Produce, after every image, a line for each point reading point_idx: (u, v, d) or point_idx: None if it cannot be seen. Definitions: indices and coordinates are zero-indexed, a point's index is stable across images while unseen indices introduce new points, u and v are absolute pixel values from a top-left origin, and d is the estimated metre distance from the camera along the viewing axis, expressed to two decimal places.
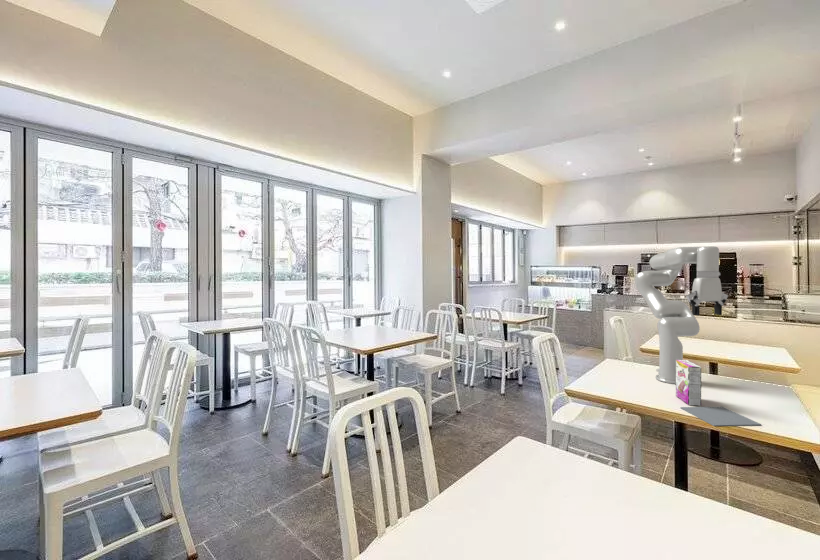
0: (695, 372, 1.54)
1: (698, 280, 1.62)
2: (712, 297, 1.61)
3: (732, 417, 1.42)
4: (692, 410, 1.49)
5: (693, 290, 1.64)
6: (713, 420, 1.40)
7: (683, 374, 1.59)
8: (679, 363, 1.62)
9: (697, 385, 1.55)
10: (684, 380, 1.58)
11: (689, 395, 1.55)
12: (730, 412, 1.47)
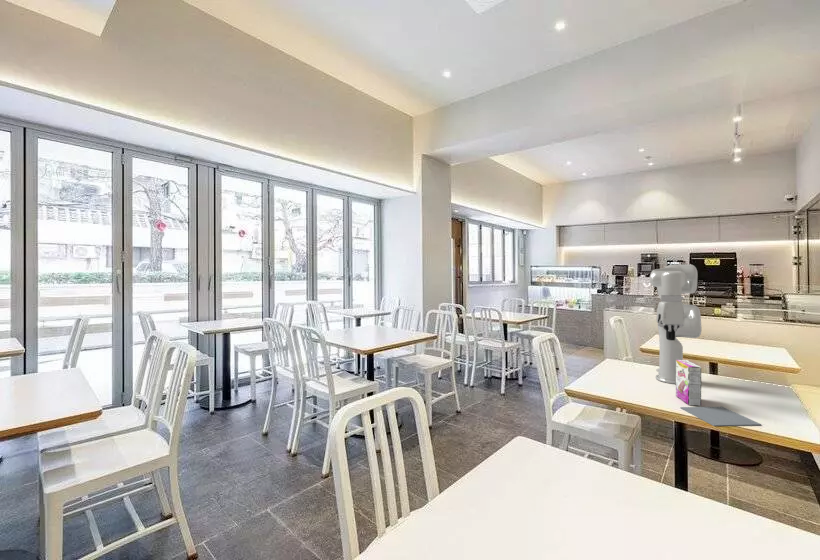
0: (695, 372, 1.54)
1: (662, 303, 1.69)
2: (675, 320, 1.68)
3: (732, 417, 1.42)
4: (692, 410, 1.49)
5: (657, 313, 1.71)
6: (713, 420, 1.40)
7: (683, 374, 1.59)
8: (679, 363, 1.62)
9: (697, 385, 1.55)
10: (684, 380, 1.58)
11: (689, 395, 1.55)
12: (730, 412, 1.47)
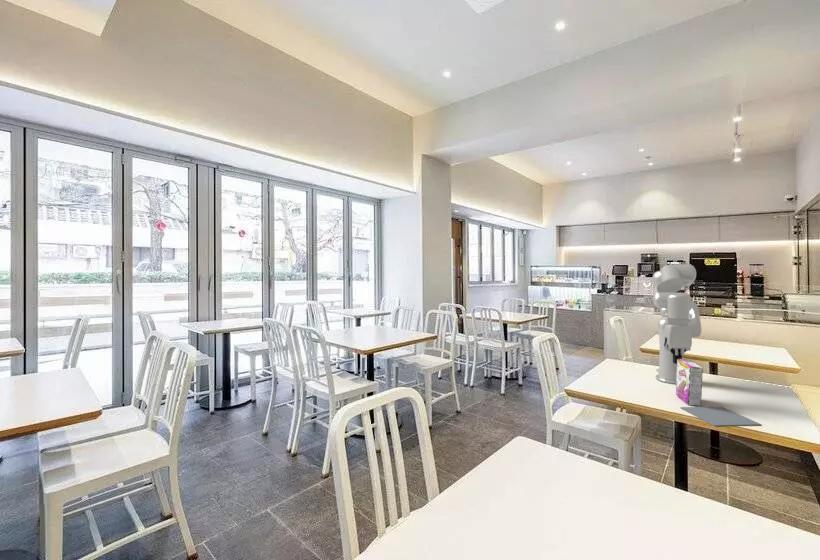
0: (696, 373, 1.54)
1: (668, 327, 1.65)
2: (682, 344, 1.64)
3: (732, 417, 1.42)
4: (692, 410, 1.49)
5: (664, 336, 1.67)
6: (713, 420, 1.40)
7: (684, 374, 1.58)
8: (680, 363, 1.61)
9: (698, 385, 1.54)
10: (685, 380, 1.57)
11: (690, 395, 1.55)
12: (730, 412, 1.47)
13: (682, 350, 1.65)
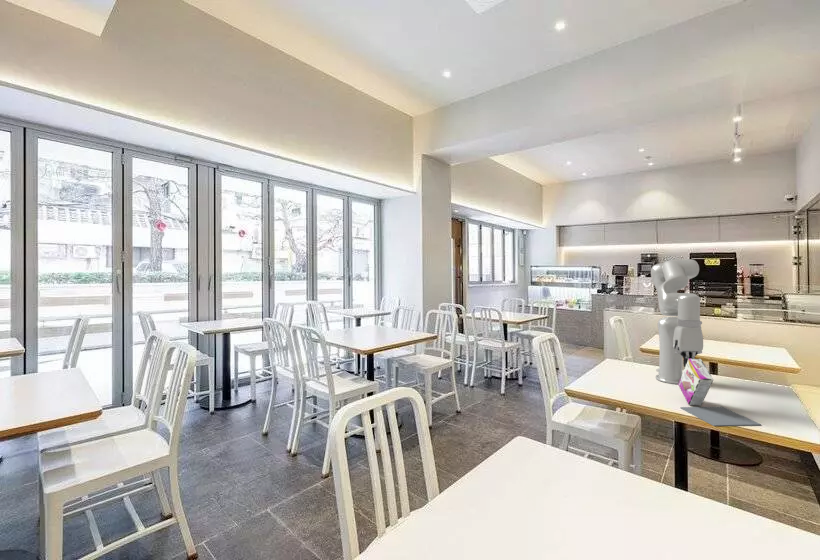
0: (705, 383, 1.47)
1: (679, 329, 1.59)
2: (693, 347, 1.57)
3: (732, 417, 1.42)
4: (692, 410, 1.49)
5: (674, 339, 1.61)
6: (713, 420, 1.40)
7: (692, 378, 1.52)
8: (691, 365, 1.53)
9: (703, 392, 1.50)
10: (691, 385, 1.53)
11: (692, 398, 1.53)
12: (730, 412, 1.47)
13: (693, 353, 1.58)
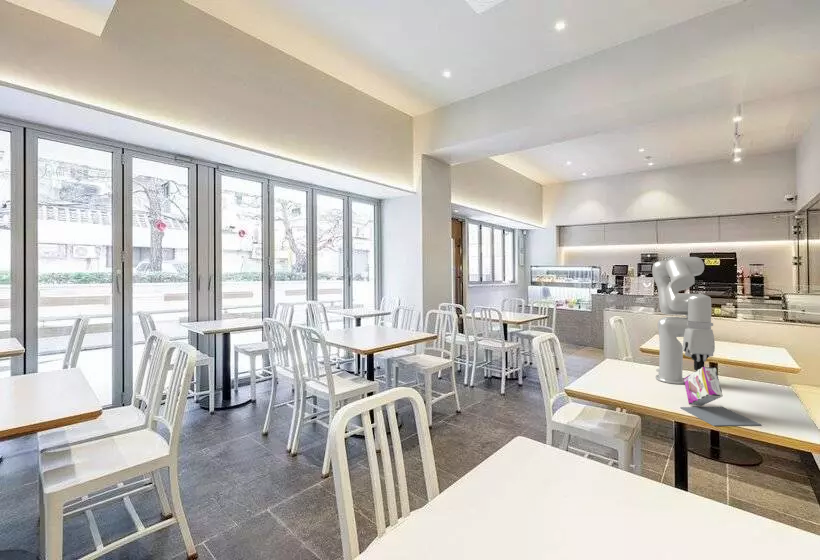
0: (713, 397, 1.43)
1: (689, 330, 1.53)
2: (704, 349, 1.51)
3: (732, 417, 1.42)
4: (692, 410, 1.49)
5: (684, 341, 1.55)
6: (713, 420, 1.40)
7: (700, 387, 1.48)
8: (703, 375, 1.46)
9: (708, 400, 1.48)
10: (698, 392, 1.49)
11: (694, 402, 1.52)
12: (730, 412, 1.47)
13: (704, 356, 1.52)
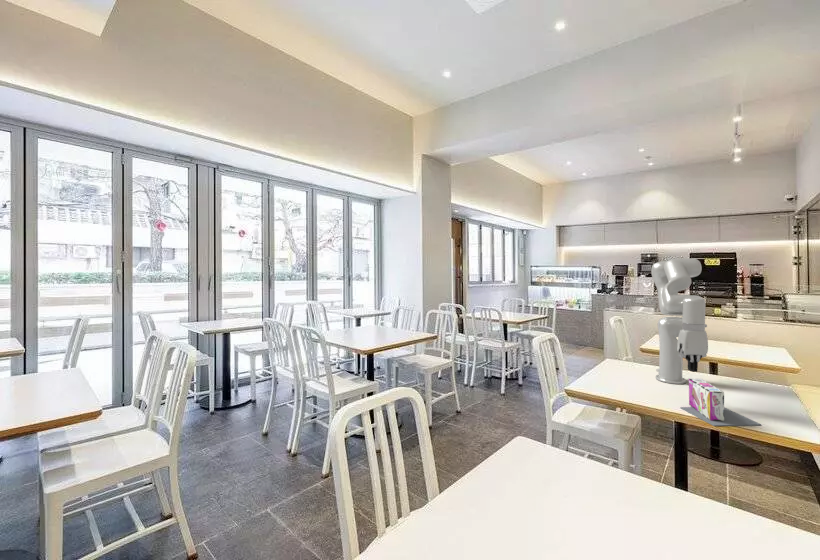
0: None
1: (683, 332, 1.56)
2: (698, 350, 1.55)
3: (732, 417, 1.42)
4: (692, 410, 1.49)
5: (678, 342, 1.58)
6: (713, 420, 1.40)
7: (703, 405, 1.44)
8: (708, 399, 1.40)
9: None
10: (700, 406, 1.46)
11: (695, 408, 1.51)
12: (730, 412, 1.47)
13: (698, 357, 1.56)
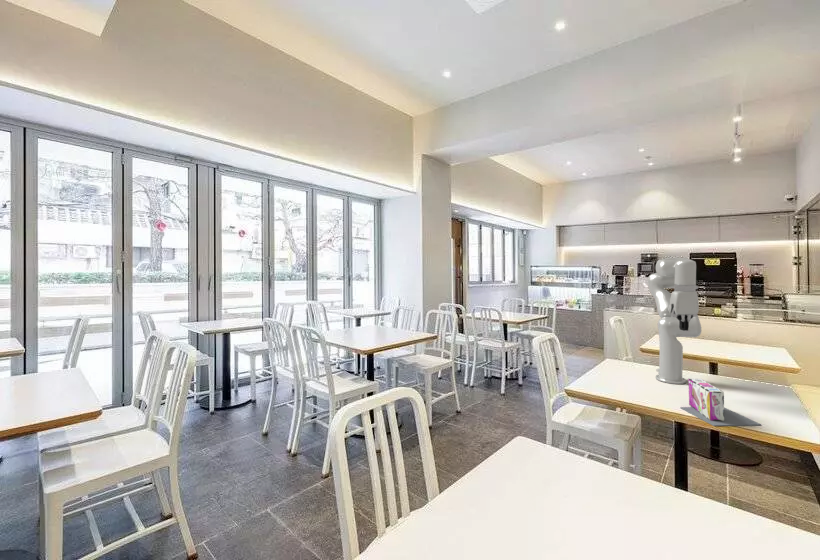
0: None
1: (675, 293, 1.65)
2: (689, 310, 1.64)
3: (732, 417, 1.42)
4: (692, 410, 1.49)
5: (670, 303, 1.67)
6: (713, 420, 1.40)
7: (703, 405, 1.44)
8: (708, 399, 1.40)
9: None
10: (700, 406, 1.46)
11: (695, 408, 1.51)
12: (730, 412, 1.47)
13: (689, 316, 1.65)
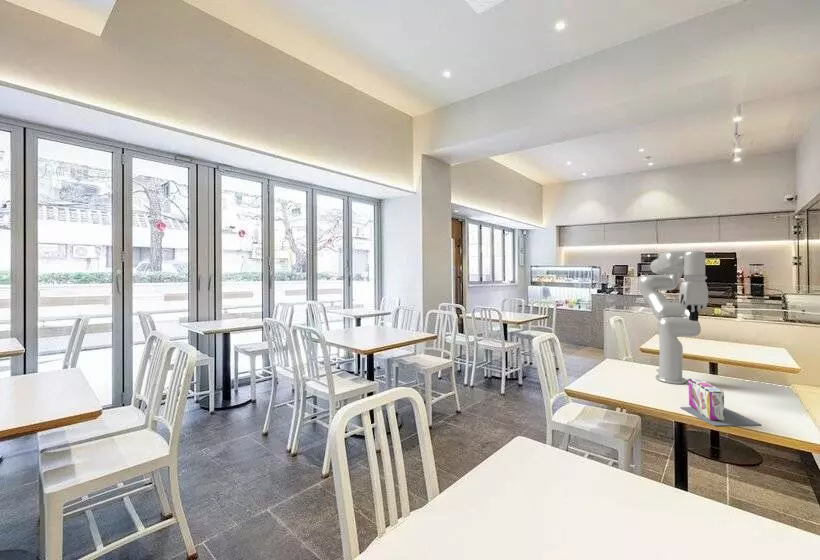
0: None
1: (685, 283, 1.66)
2: (698, 300, 1.65)
3: (732, 417, 1.42)
4: (692, 410, 1.49)
5: (680, 293, 1.68)
6: (713, 420, 1.40)
7: (703, 405, 1.44)
8: (708, 399, 1.40)
9: None
10: (700, 406, 1.46)
11: (695, 408, 1.51)
12: (730, 412, 1.47)
13: (698, 306, 1.66)
